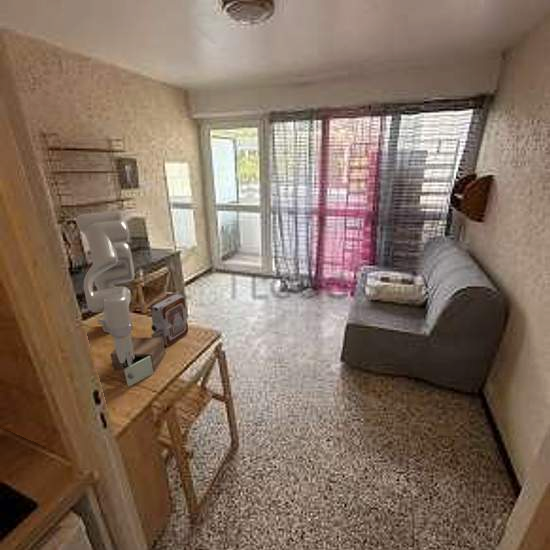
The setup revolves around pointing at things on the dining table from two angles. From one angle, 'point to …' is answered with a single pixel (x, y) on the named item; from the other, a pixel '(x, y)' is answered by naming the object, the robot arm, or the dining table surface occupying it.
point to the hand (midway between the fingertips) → (129, 372)
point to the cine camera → (169, 319)
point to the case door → (138, 371)
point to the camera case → (142, 352)
